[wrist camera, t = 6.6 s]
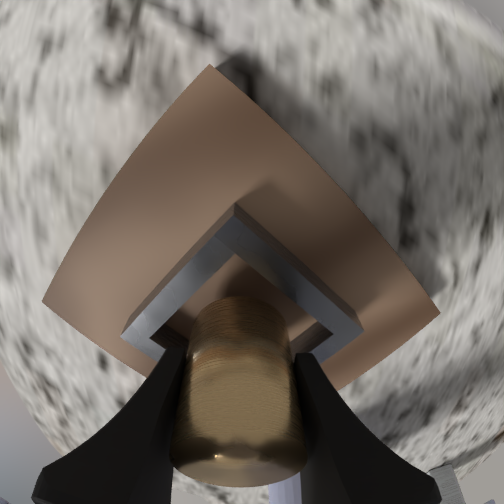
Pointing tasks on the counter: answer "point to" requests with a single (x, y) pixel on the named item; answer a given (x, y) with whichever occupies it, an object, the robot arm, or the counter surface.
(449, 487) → the skincare box
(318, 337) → the frame
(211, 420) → the brass cylinder
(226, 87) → the jig plate
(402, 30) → the counter surface
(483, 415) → the counter surface
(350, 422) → the robot arm
